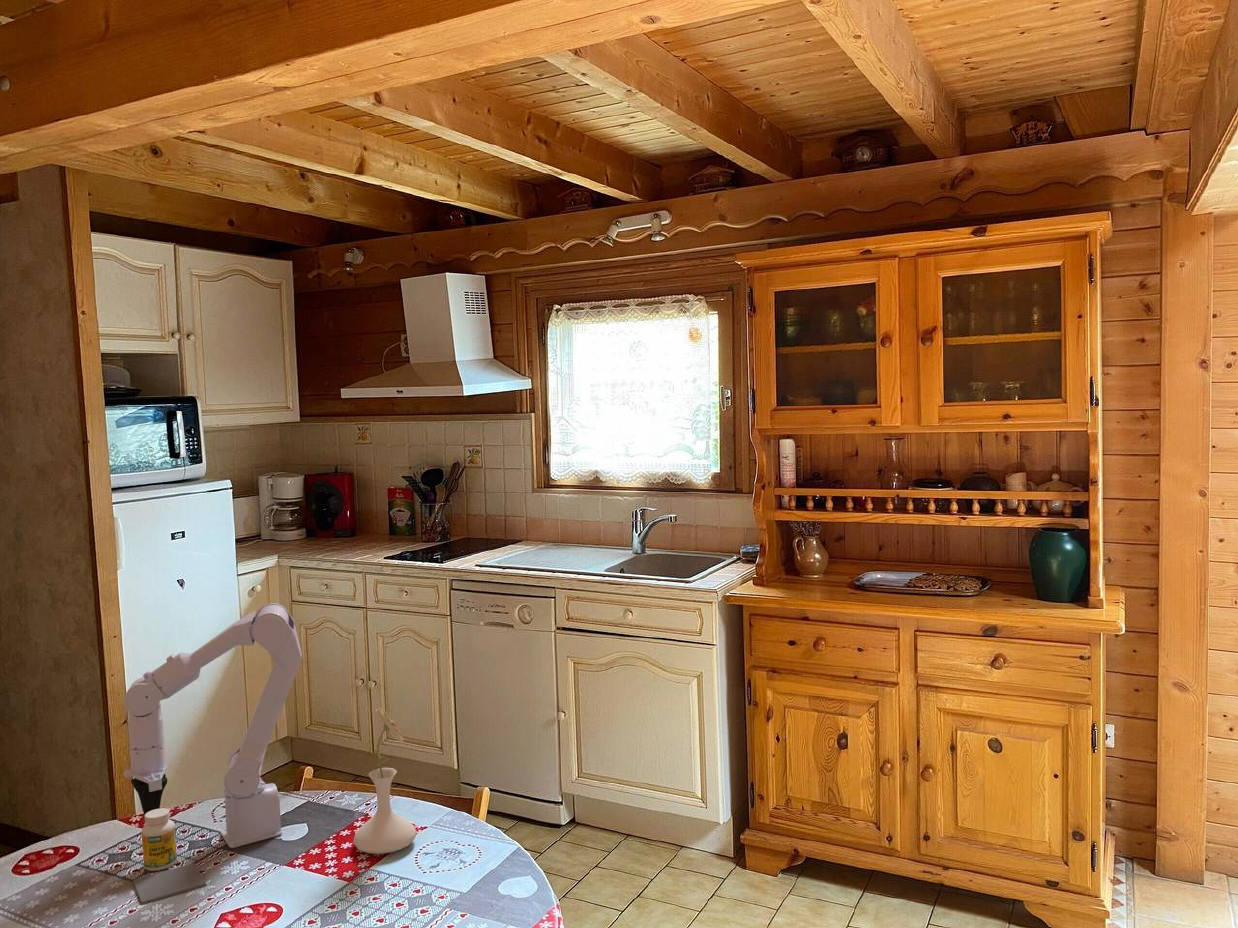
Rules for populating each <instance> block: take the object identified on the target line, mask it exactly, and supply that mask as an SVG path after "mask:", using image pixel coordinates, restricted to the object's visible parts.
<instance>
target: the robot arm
mask: <svg viewBox="0 0 1238 928" xmlns="http://www.w3.org/2000/svg"><path fill="white" fill-rule="evenodd" d="M255 642H256V643H257V644H258V645H260V646H261V647H262V648H263V649H264V650H266V651H267V652H268V654H269V656H270V657H271V659H272V660H273V664H272V667H271V670H270V672H269V675H268V677H267V679H266V683H265V685H264V688H263V690H262V693H261V695H260V697H259V699H258V702H257V705H256V707H255V710H254V712H253V715H252V717H251V720H250V721H249V724H248V727H247V730H246V732H245V735H244V736H243V739H242V740H241V743H240V746H239V747H238V748H237V750H236V751H234V752H233V753H232V754H231V755H230V757H229V760H228V765H227V770H226V773H225V775H224V778H223V787H224V806H225V808H224V809H225V827H226V828H225V829H223V830H221V831H220V835H221V836H222V838H223V839H224V841H225V842H226V844H227V846H228V847H229V848H230V849H235V848H238V847H242V846H245V845H249V844H254V843H257V842H259V841H264V840H267V839H272V838H275V837H278V836H281V835H283V831H282V824H281V823H282V822H281V821H282V820H281V805H280V795H279V791H278V788H277V785H276V784H275V783H272V782H271V783H266V782H265V781H263V779H262V778H261V772H262V769H263V766H264V757H265V755H266V752H267V748H268V746H269V743H270V741H271V739H272V735H273V734H274V731H275V728H276V726H277V723H278V721H279V718H280V715H281V713H282V710H283V709H284V705H285V703H286V700H287V698H288V696H289V693H290V690H291V688H292V684H293V683H294V680H295V678H296V675H297V674H298V673H297V672H298V670H299V668H300V665H301V662H302V657H303V654H302V649H301V644H300V641H299V637H298V632H297V629H296V623H295V619H294V618H293V617H292V615H291V613H290V612H289V611H288V610H287V608H286V607H285V606H283V605H281V604H279V603H276V602H275V603H274V602H271V603H266V604H265V605H263V606H261V607H260V608H259V609H258V610H257V612H256V610H254V611H251V612H250V613H248V614H247V615H245V616H243V617H241V618H240V619H238V620H236V622H234V623H232V624H231V625H230V626H228V627H227V628H225V629H224V630H222V631H221V632H220V633H219V634H217V635H215V636H214V637H212V639H210V640H209V641H207V642H206V643H205V644H203V645H202V646H200V647H199V648H198V649H196V650H195V651H193V652H191V653H188V652H187V653H186V652H180V653H177V655H175V654H174V653H173V654H170V655H169V656H168V657H167V658H166V660H165V661H166V662H164V663H162V665H160V666H158V667H157V668H156V669H154V670H152V671H151V672H150V671H146V672H145V673H143V675H142V677H140V678H138V679H136V680H134V682H133V683H132V684H131V685H130V687H129V688H128V690H127V691H126V693H125V695H124V697H123V698H124V699H123V706H124V708H125V710H126V711H127V717H128V723H127V726H128V727H127V729H128V742H129V743H128V744H129V757H130V758H129V760H130V769H127V770H125V771H124V772H123V776H124V778H132V779H131V780H130V782H131V784H132V787H133V788H134V790H135V791H136V793H137V795H138V797H139V801H140V806H141V809H142V813H143V814H144V816H145V814H146V813H147V812H149V811H151V810H155V809H160V807H161V801H162V796H163V793H164V790H165V788H166V786H167V785H168V778H167V777H166V776H167V775H166V771H167V769H168V765H167V763H166V752H165V735H164V720H163V716H162V703H161V701H163V700H168V699H169V698H171V697H172V696H174V695H175V694H177V693H179V691H181V690H183V689H184V688H186V687H187V686H189V685H190V684H192V683H193V682H195V681H196V680H198V679H199V678H200V675H201V670H202V669H201V668H203V667H205V666H207V665H208V664H210V663H212V662H213V661H215V660H216V659H218V658H220V657H221V656H223V655H225V654H226V653H228V652H229V651H231V650H232V649H234V648H235V647H237V646H249V647H252V646H254V644H255Z"/></svg>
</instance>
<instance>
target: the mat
mask: <svg viewBox="0 0 1238 928" xmlns="http://www.w3.org/2000/svg"><path fill="white" fill-rule="evenodd" d="M199 869H200V868H199V867H198V866H197V864H196V862H193V863H189V864H185V865H182V866H178V867H174V868H171V869H167V870H164V871H163V870H162V871H160V872H157V873H153V874H150V875H145V876H142V877H139V878H134V879H133V880H132V882H133V885H134V888H135V890H136V893H137V896H138V898H139V900H140V903H141V905H145V904H148V903H151V902H154V901H155V902H156V901H159V900H161V899H165V898H169V897H173V896H176V895H178V894H182V893H186V892H189V891H193V890H195V889H200V888H203V887H207V882H206V880H205V879H204V876H203V875H202V873H201V871H200V870H199Z"/></svg>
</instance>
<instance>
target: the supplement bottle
mask: <svg viewBox="0 0 1238 928" xmlns="http://www.w3.org/2000/svg"><path fill="white" fill-rule="evenodd" d="M170 817H171V815H170V810H169V809H168V808H164V807H163V808H160V809H155V810H151V811H149V812H147V813H146V814H145V815H144V823H145V825H144V826H142V828H141V840H142V841H141V843H142V852H143V853H142V854H143V855H142V856H143V867H144V869H146V870H147V871H150V872H156V871H157V872H159V871H163V870H164V871H165V870H166V869H169V868H170V867H172V866H174V865H175V864H176V862H177V861H178V858H177V856H178V855H177V843H176V826H175V822H174V821H173V820H171V819H170Z"/></svg>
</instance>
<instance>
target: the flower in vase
mask: <svg viewBox="0 0 1238 928" xmlns="http://www.w3.org/2000/svg"><path fill="white" fill-rule="evenodd" d="M374 713H375V715H376V717H377V719H378V720H379V722H380V723H381V724H382V726H383V729H382V731H381V733H380V735H379V738H378V741H377V745H376V747H375V746H374V747H373V749H374V752H375V755H376V757H377V763H378V764H377V765H376V766H377V767H378V768H376V769H372V770H371V771H370V772H369V773H368V777H369V778H370V779H371V780H372V782H373V785H374V787H375V791H376V796H377V797H376V798H377V808H376V811H375V813H374V815H373V816H372V817H370V818H369V819H368V820H367V821H366V822H365V823H363V825H361V826H360V827H359V829H357V831H356V832H355V834H354V837H353V840H352V842H353V845H355V847H356V848H357V849H358V850H359V851H360V852H364V853H365V854H366V853H367V854H374V855H375V854H377V855H379V854H383V855H384V854H389V853H394V852H397V851H400V850H402V849H405V848H406V847H408V846H410V845H411V844H412V843H413V842H414V840H415V838H416V837H417V829H416V827H415V826H414V824H413V823H412V822H410V821H409V820H407V818H404V817H403V816H401V815H398V814H397V813H396V812H394V811H393V809H392V807H391V800H390V799H391V797H390V795H391V788H392V787H391V785H392V782H393V779H394V777H395V776H396V774H397V771H398V770H396V769H395V768H392V767H382V765H383V764H384V763H385V762H387V761H389V760H391V758H389V757H387V758H386V759H384V760H383V761H381V760H382V757H381V755H380V753H379V752H380V751H379V750H380V749H379V748H380V744H381V741H382V738H383V736H384V733H385V731H386V732H388V733H389V734H390V736H392V737H393V738H394V739H395V740H396V741H397V742H400V743H403V742H404V740H405V738H403V736H404V735H403V733H402V731H400V730H399V729H398V728H397V727H396V726H397V723H396V721H394V720H392V719H391V718H390V717H389V715H388V713H387V712H386V711H385V710H383V711H382V709H381V708H380V707H378V708H376V709H375V710H374Z"/></svg>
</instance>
